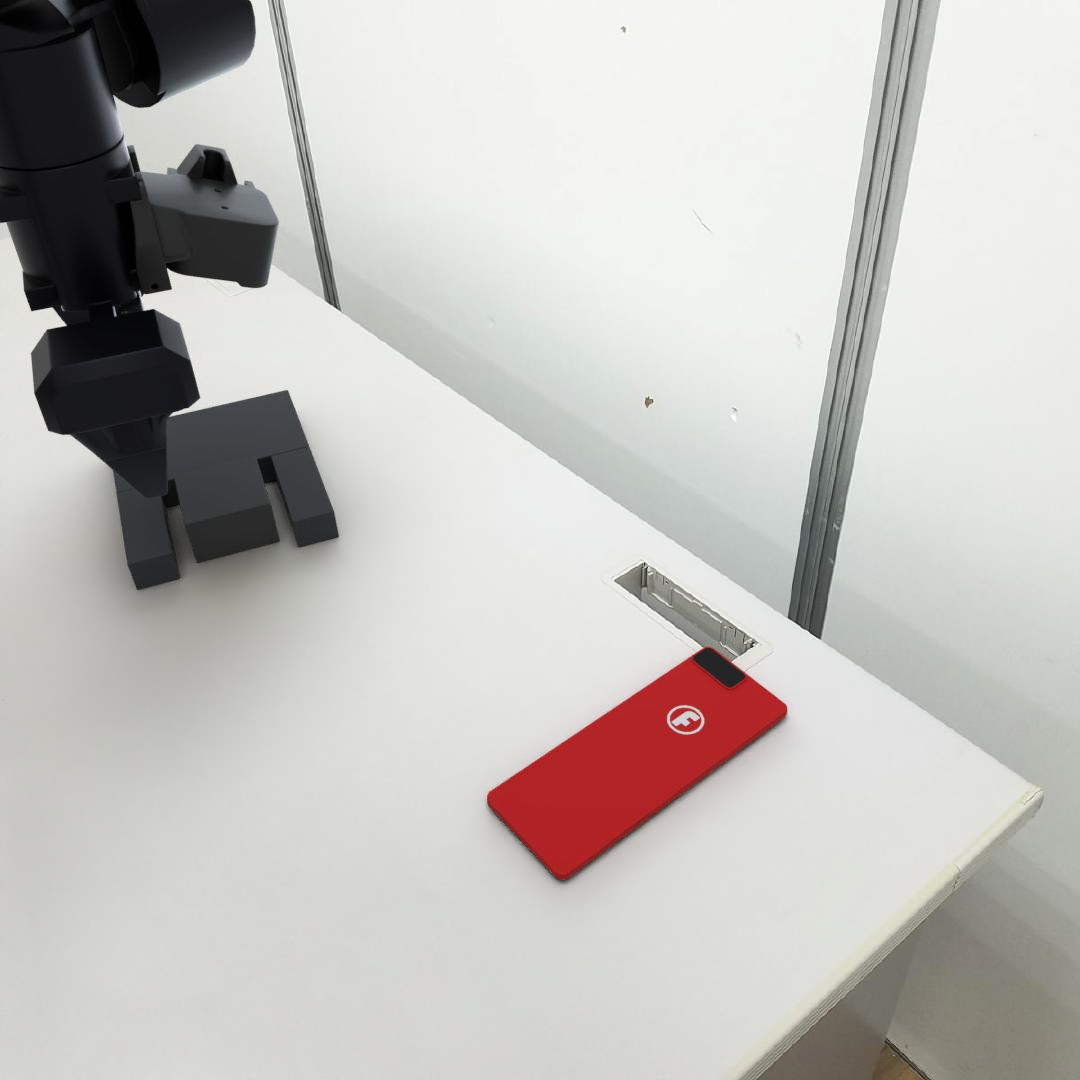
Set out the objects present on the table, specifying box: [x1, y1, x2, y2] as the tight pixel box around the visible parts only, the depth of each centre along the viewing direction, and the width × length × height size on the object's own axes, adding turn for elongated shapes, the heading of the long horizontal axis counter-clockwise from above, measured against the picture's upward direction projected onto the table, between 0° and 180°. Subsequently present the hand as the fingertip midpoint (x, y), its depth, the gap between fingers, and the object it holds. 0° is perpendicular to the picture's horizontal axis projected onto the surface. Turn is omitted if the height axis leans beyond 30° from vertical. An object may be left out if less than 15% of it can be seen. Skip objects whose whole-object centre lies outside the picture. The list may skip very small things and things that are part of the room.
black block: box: [174, 456, 281, 564], centre depth 69 cm, size 5×5×3 cm
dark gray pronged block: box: [112, 389, 340, 590], centre depth 72 cm, size 12×14×2 cm
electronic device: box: [486, 646, 788, 881], centre depth 56 cm, size 6×1×15 cm
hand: (145, 443), depth 58 cm, fingers open, 9 cm apart
